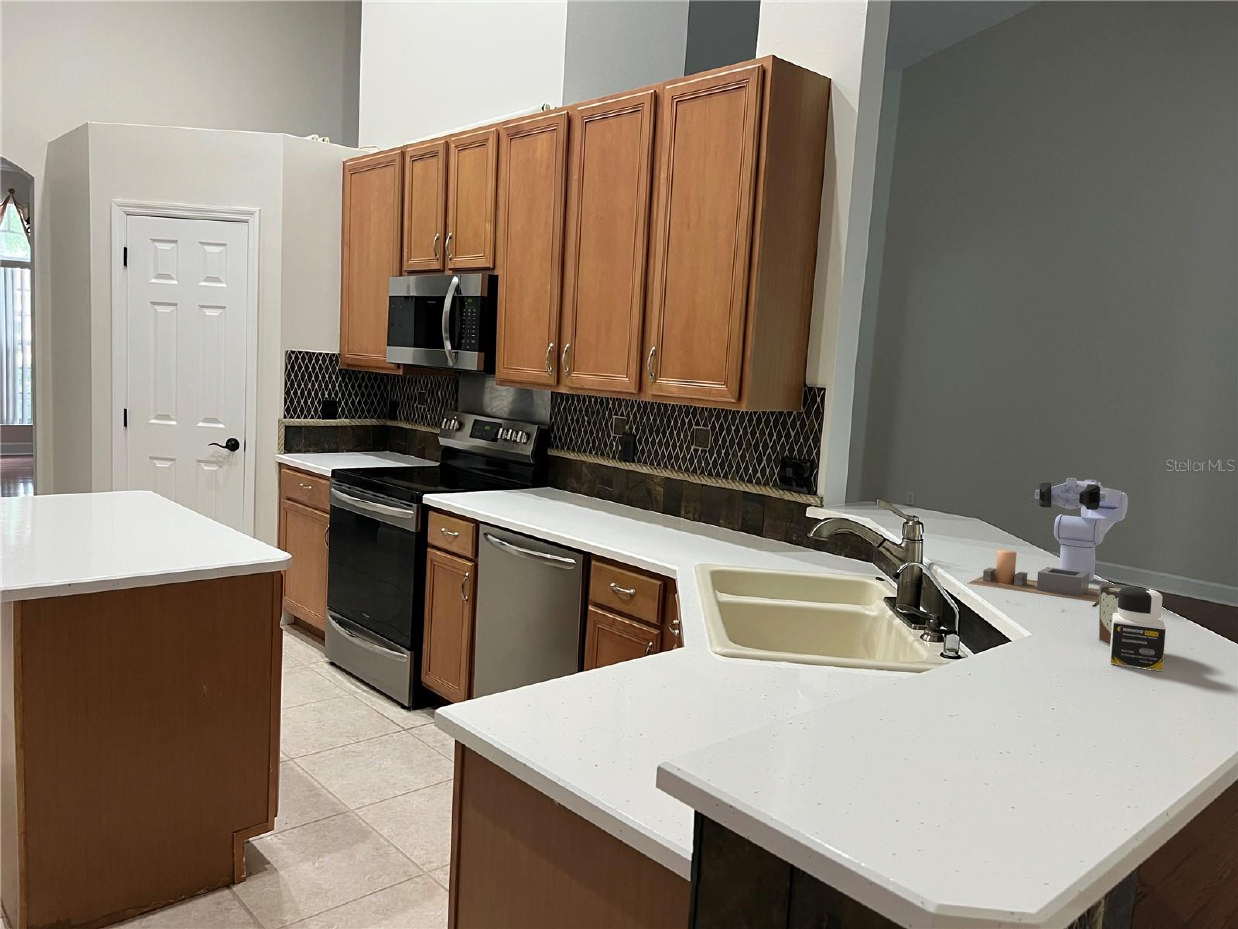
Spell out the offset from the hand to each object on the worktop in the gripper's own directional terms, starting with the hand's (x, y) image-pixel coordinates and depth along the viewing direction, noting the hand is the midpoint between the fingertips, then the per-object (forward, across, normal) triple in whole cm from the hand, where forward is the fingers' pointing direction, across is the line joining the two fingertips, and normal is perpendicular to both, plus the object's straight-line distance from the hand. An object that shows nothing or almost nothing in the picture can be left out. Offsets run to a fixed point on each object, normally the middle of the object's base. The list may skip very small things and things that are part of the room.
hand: (1061, 497), depth 197 cm
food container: (+40, +20, +24) cm, 50 cm away
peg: (-1, -12, +20) cm, 23 cm away
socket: (-1, 0, +21) cm, 21 cm away
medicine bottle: (+50, +22, +24) cm, 59 cm away
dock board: (-1, -5, +21) cm, 22 cm away
